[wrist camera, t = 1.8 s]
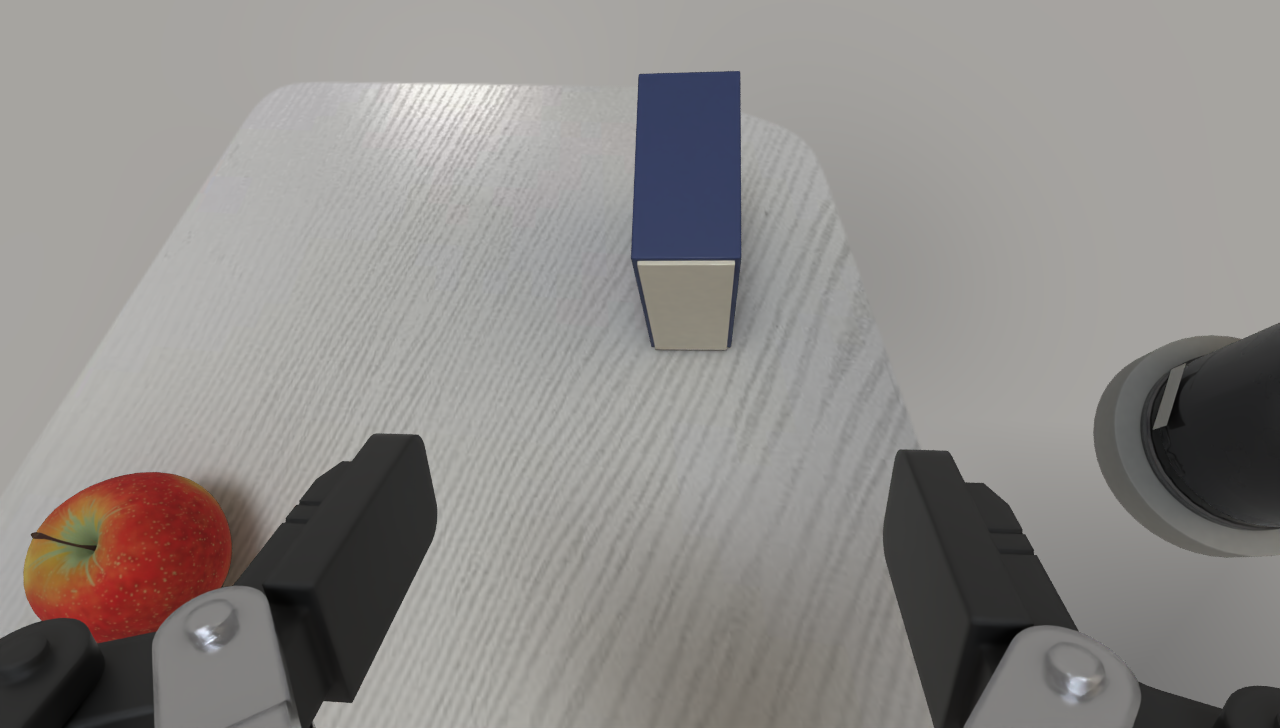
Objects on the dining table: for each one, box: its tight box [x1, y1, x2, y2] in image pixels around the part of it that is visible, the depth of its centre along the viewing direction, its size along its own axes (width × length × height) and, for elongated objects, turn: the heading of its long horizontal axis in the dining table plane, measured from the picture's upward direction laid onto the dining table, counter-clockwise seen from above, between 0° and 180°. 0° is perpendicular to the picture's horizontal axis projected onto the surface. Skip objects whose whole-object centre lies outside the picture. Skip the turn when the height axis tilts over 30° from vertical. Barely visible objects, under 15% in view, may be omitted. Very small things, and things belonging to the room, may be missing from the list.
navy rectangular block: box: [631, 71, 741, 350], centre depth 36 cm, size 4×9×12 cm, turn 178°
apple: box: [24, 472, 232, 643], centre depth 35 cm, size 8×8×10 cm
